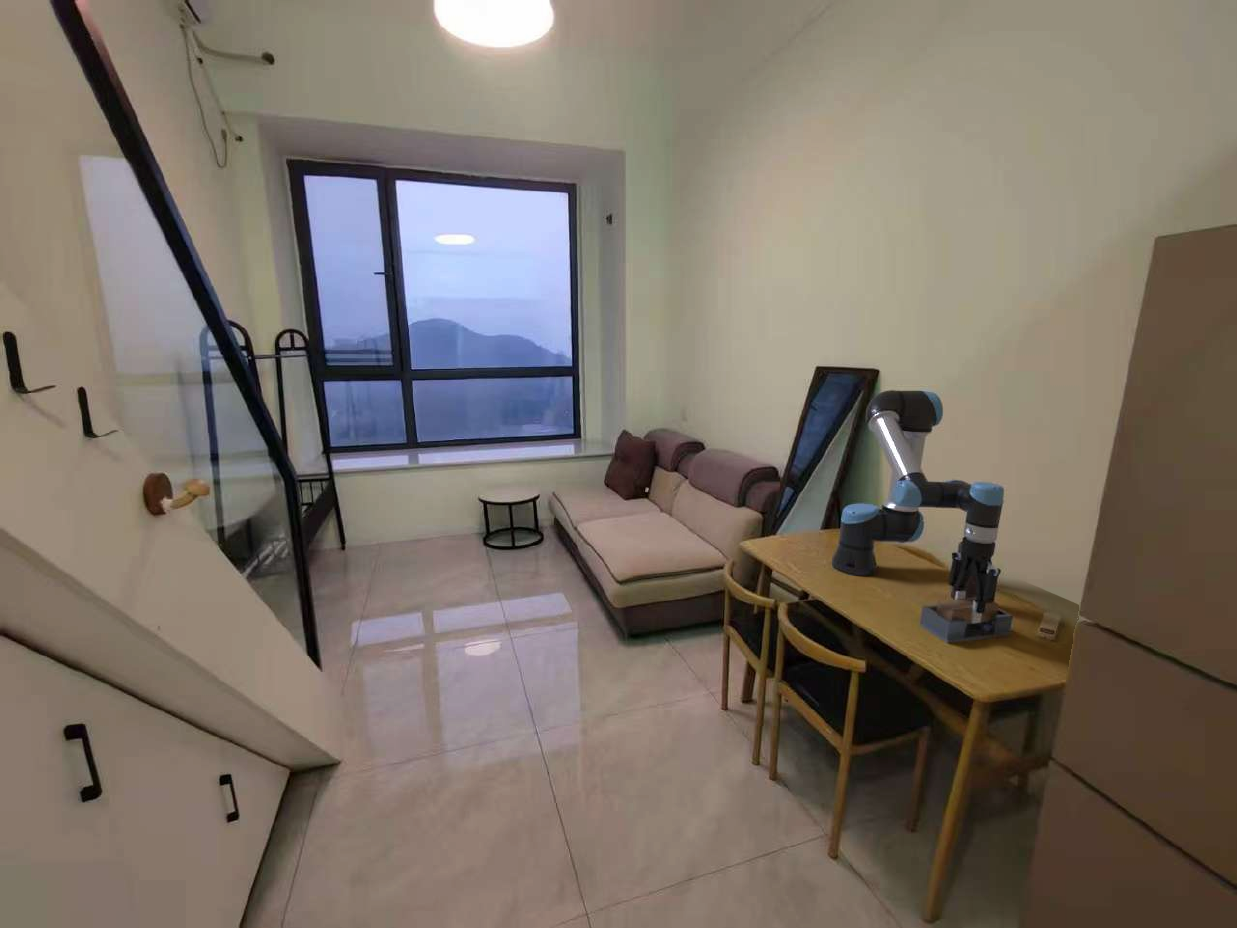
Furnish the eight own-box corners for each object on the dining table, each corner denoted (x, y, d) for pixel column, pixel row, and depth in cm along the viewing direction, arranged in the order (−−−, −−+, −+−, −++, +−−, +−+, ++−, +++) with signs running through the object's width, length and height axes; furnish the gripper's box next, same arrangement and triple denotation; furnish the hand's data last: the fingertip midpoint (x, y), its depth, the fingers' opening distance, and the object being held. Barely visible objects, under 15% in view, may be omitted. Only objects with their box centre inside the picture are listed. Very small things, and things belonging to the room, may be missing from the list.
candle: (963, 608, 164) (974, 547, 160) (943, 598, 171) (953, 539, 167) (983, 606, 166) (993, 545, 162) (962, 595, 173) (972, 537, 169)
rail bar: (935, 617, 150) (938, 601, 149) (979, 612, 154) (982, 596, 153) (950, 626, 145) (953, 609, 144) (995, 620, 149) (998, 604, 148)
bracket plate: (919, 624, 153) (921, 605, 152) (979, 618, 158) (982, 599, 156) (947, 643, 143) (950, 622, 142) (1010, 635, 148) (1013, 616, 147)
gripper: (941, 529, 153) (929, 603, 157) (998, 551, 135) (983, 634, 140) (962, 527, 154) (950, 601, 159) (1021, 549, 137) (1006, 632, 142)
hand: (966, 617), depth 150 cm, fingers closed on rail bar, 5 cm apart
